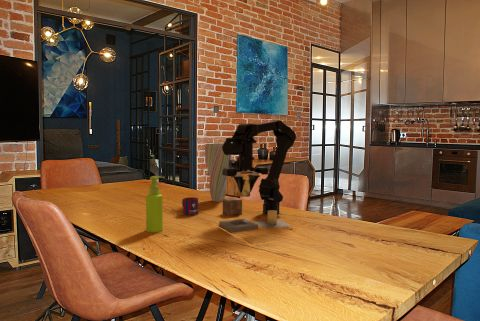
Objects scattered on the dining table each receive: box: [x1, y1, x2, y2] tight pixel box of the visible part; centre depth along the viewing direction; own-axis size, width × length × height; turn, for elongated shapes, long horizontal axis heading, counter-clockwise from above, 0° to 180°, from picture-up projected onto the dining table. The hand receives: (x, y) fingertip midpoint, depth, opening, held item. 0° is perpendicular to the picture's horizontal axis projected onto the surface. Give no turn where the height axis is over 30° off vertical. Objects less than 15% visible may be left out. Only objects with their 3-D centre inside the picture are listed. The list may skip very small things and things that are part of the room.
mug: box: [181, 196, 199, 216], centre depth 172 cm, size 7×10×7 cm
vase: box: [204, 142, 232, 203], centre depth 203 cm, size 14×14×30 cm
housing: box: [222, 196, 243, 217], centre depth 169 cm, size 6×6×7 cm
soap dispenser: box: [145, 175, 164, 234], centre depth 142 cm, size 6×7×20 cm
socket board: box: [218, 218, 259, 234], centre depth 146 cm, size 11×11×2 cm
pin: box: [240, 178, 251, 198], centre depth 159 cm, size 4×4×7 cm
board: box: [253, 210, 292, 229], centre depth 151 cm, size 11×11×6 cm
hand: (245, 192), depth 159 cm, fingers closed on pin, 4 cm apart
